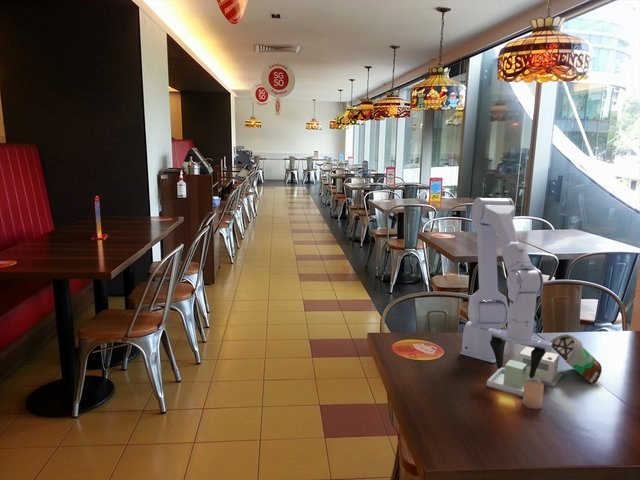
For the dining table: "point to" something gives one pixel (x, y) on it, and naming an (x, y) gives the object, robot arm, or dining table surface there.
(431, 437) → the dining table surface
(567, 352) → the food container
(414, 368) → the dining table surface
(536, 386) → the terracotta part
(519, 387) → the green part
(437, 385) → the dining table surface
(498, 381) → the tray
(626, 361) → the dining table surface
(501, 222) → the robot arm
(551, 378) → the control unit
